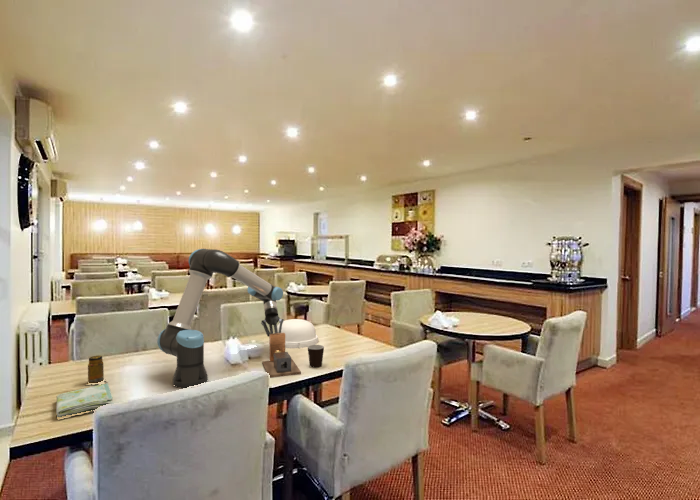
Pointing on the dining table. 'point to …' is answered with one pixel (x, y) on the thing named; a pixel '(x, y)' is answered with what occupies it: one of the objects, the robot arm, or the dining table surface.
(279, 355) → the block
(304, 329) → the dome cover
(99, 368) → the condiment
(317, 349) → the coffee mug
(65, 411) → the towel
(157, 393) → the dining table surface
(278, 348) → the wooden upright block
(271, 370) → the base board
